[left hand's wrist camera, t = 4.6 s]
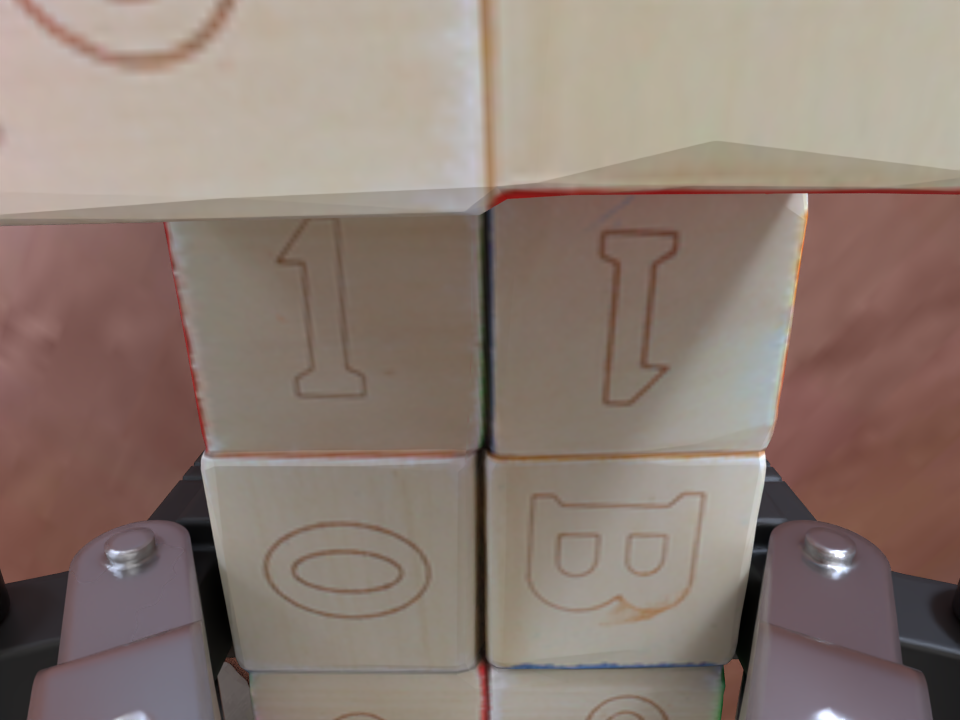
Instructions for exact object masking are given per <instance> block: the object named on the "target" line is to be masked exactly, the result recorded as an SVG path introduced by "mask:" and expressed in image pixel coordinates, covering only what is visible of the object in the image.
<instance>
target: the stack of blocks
mask: <svg viewBox="0 0 960 720" xmlns="http://www.w3.org/2000/svg"><path fill="white" fill-rule="evenodd" d="M808 193H900V194H960V0H0V226H21V225H61V224H102V223H142V222H163V223H164V228H165V233H166V238H167V244H168V249H169V255H170V260H171V266H172V271H173V277H174V282H175V287H176V293H177V298H178V304H179V309H180V314H181V320H182V325H183V331H184V336H185V342H186V347H187V352H188V358H189V364H190V369H191V375H192V381H193V386H194V392H195V398H196V403H197V409H198V414H199V420H200V425H201V431H202V435H203V439H204V442H205V446H206V449H205V451H204V453H203V455H202V458H201V473H202V478H203V484H204V489H205V495H206V500H207V505H208V511H209V516H210V522H211V527H212V533H213V538H214V544H215V549H216V554H217V560H218V565H219V571H220V576H221V582H222V587H223V592H224V597H225V603H226V608H227V613H228V619H229V624H230V629H231V635H232V640H233V645H234V651H235V656H236V660H237V662H238V664H239V666H240V667H241V668H243V669H244V670H245V671H247V672H248V673H249V682H250V695H251V703H252V710H253V716H254V720H721V714H722V707H723V694H724V690H725V677H724V666H723V665H725V664H727V663H728V662H730V661H731V660H732V659H733V657H734V654H735V651H736V647H737V642H738V635H739V628H740V621H741V614H742V609H743V604H744V599H745V593H746V588H747V583H748V577H749V570H750V564H751V557H752V550H753V544H754V537H755V531H756V524H757V517H758V512H759V507H760V502H761V497H762V493H763V488H764V480H765V473H766V459H765V449H766V447H767V446H768V444H769V442H770V440H771V438H772V435H773V431H774V427H775V424H776V421H777V419H778V406H779V400H780V395H781V390H782V384H783V378H784V372H785V366H786V360H787V354H788V348H789V342H790V334H791V327H792V319H793V311H794V304H795V297H796V290H797V284H798V277H799V270H800V264H801V257H802V251H803V244H804V238H805V232H806V225H807V219H808Z"/></svg>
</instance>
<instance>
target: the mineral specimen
mask: <svg viewBox="0 0 960 720" xmlns="http://www.w3.org/2000/svg"><path fill="white" fill-rule="evenodd" d="M218 681H219V686H220V691H221V697H222V704H223V710H224V716H225V720H254V716H253V710H252V703H251V695H250V688H249V686H248V683H247V681H246V680H245V679H244V678H243V677H242V676H241V675H240V674H239V673H238V672H237V671H236V670H235V669H234V668H233V667H232V665H231V664H229V663H227V662H225V661H224V663H223V666H222V668H221V670H220V672H219V674H218Z"/></svg>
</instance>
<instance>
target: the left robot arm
mask: <svg viewBox="0 0 960 720" xmlns="http://www.w3.org/2000/svg"><path fill="white" fill-rule="evenodd" d="M204 451H205V450H204ZM204 451H203V453H204ZM203 453H202V454H201V455H200V456H199V457H198V459H197V460H196V461H195V462H194V466H191V467H190V469H189V470H188V471H187V472H186V473H185V475H184V476H183V480H180V481H179V482H178V483H177V485H176V486H175V487H174V488H173V490H172V491H171V492H170V493H169V494H168V496H167V497H166V498H165V499H164V501H163V502H162V503H161V504H160V506H159V507H158V508H157V509H156V510H155V512H154V513H153V514H152V515H151V517H150V518H149V519H148V520H147V521H140V522H135V523H131V524H127V525H124V526H120V527H118V528H115V529H112V530H110V531H108V532H106V533H104V534H102V535H100V536H98V537H96V538H95V539H93V540H92V541H90V542H89V543H87V544H86V545H85V546H84V547H83V548H82V549H80V550H79V552H78V553H77V554H76V555H75V556H74V558H73V560H72V561H71V564H70V568H69V571H66V572H62V573H57V574H52V575H48V576H43V577H38V578H33V579H28V580H23V581H18V582H13V583H8V584H5V582H4V579H3V576H2V573H1V570H0V720H225V716H224V710H223V704H222V697H221V691H220V686H219V681H218V674H219V672H220V670H221V668H222V666H223V663H224V661H225V659H226V658H236V656H235V651H234V645H233V640H232V635H231V629H230V624H229V619H228V613H227V608H226V603H225V597H224V592H223V587H222V582H221V576H220V571H219V565H218V560H217V554H216V549H215V544H214V538H213V533H212V527H211V522H210V516H209V511H208V505H207V500H206V495H205V489H204V484H203V478H202V473H201V458H202V455H203ZM765 459H766V458H765ZM733 659H739V661H740V663H741V665H742V667H743V669H744V671H743V676H742V681H741V686H740V691H739V697H738V703H737V710H736V716H735V720H960V580H959V583H958V585H956V584H951V583H946V582H941V581H936V580H931V579H926V578H921V577H916V576H911V575H906V574H902V573H897V572H893V571H891V568H890V564H889V562H888V560H887V558H886V556H885V555H884V554H883V553H882V552H881V550H880V549H878V548H877V547H876V546H875V545H874V544H873V543H871V542H870V541H868V540H867V539H865V538H864V537H862V536H860V535H858V534H856V533H854V532H852V531H850V530H848V529H845V528H842V527H840V526H836V525H833V524H829V523H825V522H820V521H817V520H816V519H815V518H814V517H813V515H812V514H811V513H810V512H809V511H808V509H807V508H806V507H805V506H804V505H803V503H802V502H801V501H800V500H799V498H798V497H797V496H796V495H795V494H794V492H793V491H792V490H791V489H790V487H789V486H788V485H787V484H786V483H785V481H782V480H781V477H780V475H779V474H778V473H777V472H776V470H775V469H774V468H773V467H770V463H769V462H768V461H767V459H766V473H765V480H764V488H763V493H762V497H761V502H760V507H759V512H758V517H757V524H756V531H755V537H754V544H753V550H752V557H751V564H750V570H749V577H748V583H747V588H746V593H745V599H744V604H743V609H742V614H741V621H740V628H739V635H738V642H737V647H736V651H735V654H734V657H733Z"/></svg>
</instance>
